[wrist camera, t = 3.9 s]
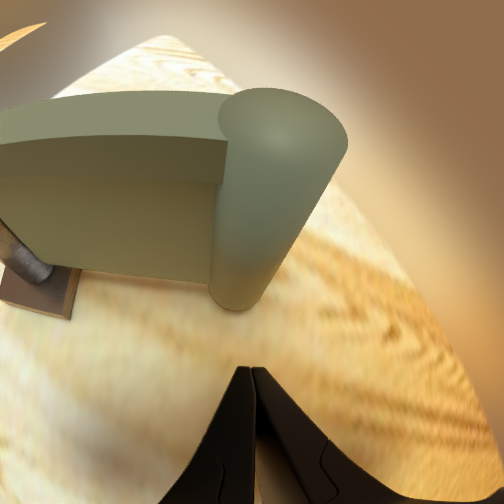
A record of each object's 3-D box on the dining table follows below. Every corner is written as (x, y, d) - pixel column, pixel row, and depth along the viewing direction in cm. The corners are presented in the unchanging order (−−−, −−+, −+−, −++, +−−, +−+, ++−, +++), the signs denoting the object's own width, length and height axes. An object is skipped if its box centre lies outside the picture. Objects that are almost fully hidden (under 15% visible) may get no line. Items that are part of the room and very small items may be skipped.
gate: (49, 285, 13) (-65, 169, 4) (62, 240, 14) (-21, 107, 5) (263, 312, 15) (359, 181, 5) (263, 260, 16) (335, 101, 7)
